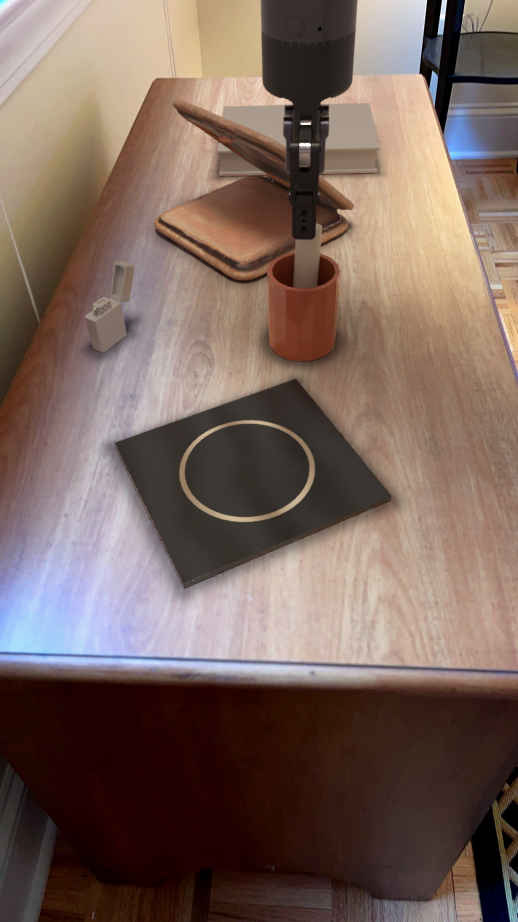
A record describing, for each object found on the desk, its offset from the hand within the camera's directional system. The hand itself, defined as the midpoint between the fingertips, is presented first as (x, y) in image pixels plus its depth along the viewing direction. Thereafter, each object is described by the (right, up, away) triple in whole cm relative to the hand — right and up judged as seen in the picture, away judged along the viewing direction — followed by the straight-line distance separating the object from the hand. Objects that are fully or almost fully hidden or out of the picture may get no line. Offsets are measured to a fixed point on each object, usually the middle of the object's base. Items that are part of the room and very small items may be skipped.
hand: (304, 221), depth 67 cm
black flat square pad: (-5, -24, -2) cm, 25 cm away
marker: (0, -9, +10) cm, 14 cm away
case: (-5, +8, +28) cm, 29 cm away
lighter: (-21, -9, +13) cm, 26 cm away
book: (+2, +27, +44) cm, 52 cm away
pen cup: (0, -10, +11) cm, 14 cm away
